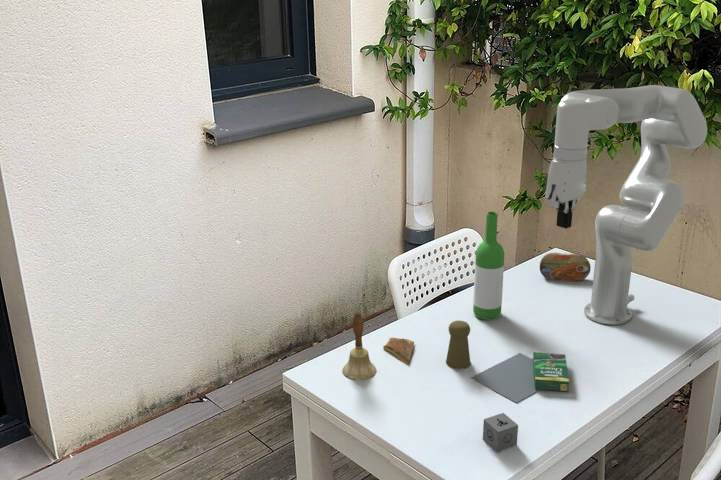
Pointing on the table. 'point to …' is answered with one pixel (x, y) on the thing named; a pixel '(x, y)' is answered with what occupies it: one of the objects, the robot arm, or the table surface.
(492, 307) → the wine bottle
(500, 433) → the dice cube
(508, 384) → the slate mat
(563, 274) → the tin
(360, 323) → the hand bell
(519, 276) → the table surface
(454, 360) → the cork
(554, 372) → the coffee box
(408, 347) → the shard
